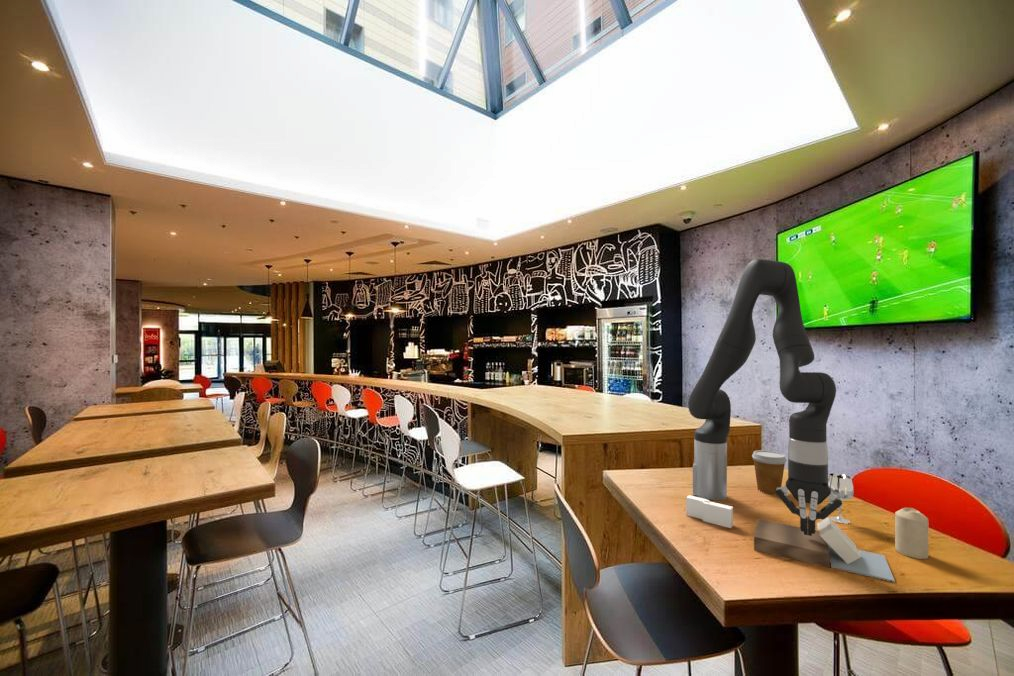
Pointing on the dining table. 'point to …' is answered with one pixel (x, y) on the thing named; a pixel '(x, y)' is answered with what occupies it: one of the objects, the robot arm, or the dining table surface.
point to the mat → (863, 564)
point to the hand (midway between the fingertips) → (807, 534)
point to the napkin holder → (709, 511)
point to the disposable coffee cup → (768, 470)
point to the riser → (791, 543)
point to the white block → (838, 540)
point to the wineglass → (840, 491)
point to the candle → (911, 533)
